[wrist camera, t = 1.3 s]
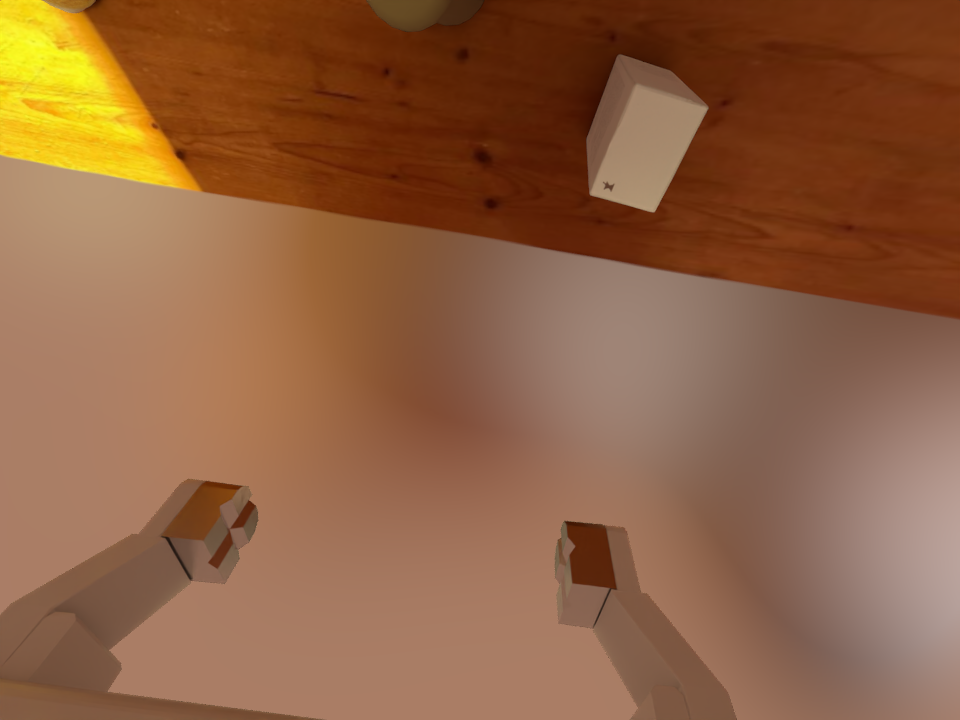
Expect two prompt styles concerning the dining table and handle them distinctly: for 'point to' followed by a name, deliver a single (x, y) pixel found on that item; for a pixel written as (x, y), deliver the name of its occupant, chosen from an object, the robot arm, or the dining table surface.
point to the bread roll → (71, 5)
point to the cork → (424, 12)
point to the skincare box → (640, 133)
